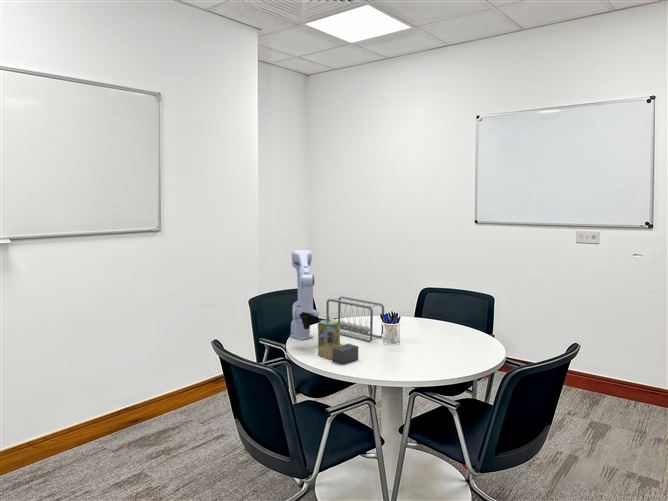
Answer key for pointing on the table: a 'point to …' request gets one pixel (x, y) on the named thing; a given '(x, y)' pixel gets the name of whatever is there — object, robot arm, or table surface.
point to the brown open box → (326, 350)
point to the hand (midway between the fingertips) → (306, 328)
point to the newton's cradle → (354, 326)
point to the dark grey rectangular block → (345, 354)
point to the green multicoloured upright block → (328, 332)
